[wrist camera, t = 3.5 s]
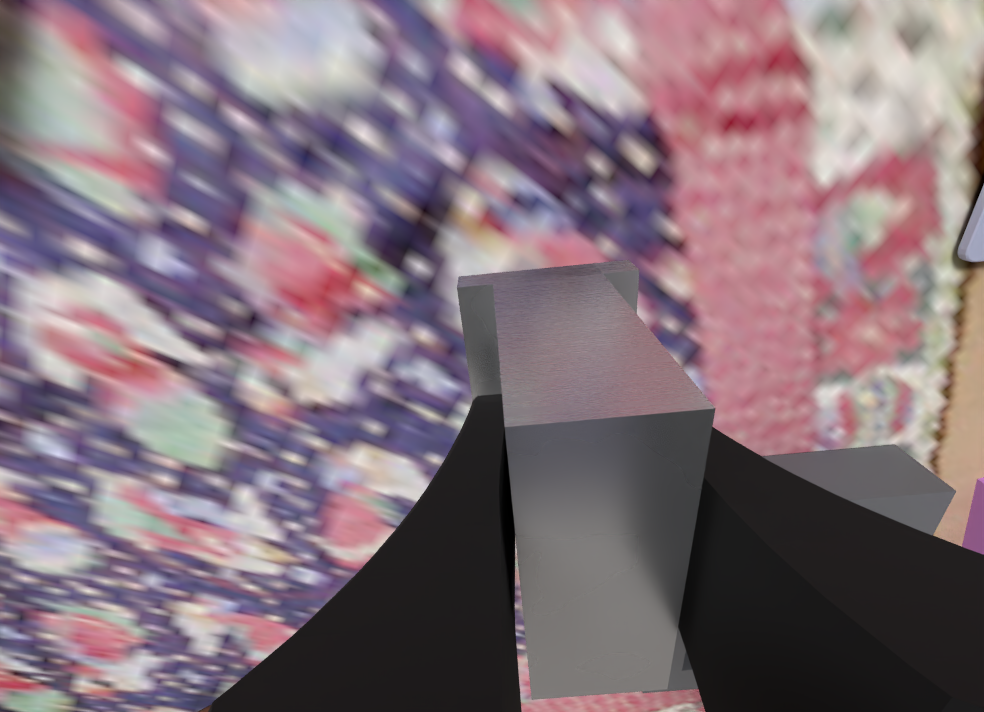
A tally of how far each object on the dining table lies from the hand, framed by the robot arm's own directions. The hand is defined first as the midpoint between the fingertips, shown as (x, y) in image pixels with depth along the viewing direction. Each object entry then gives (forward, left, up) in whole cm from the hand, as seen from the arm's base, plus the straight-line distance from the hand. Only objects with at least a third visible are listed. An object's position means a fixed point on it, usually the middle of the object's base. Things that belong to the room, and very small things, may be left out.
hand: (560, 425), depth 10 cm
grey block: (0, 0, -2) cm, 2 cm away
